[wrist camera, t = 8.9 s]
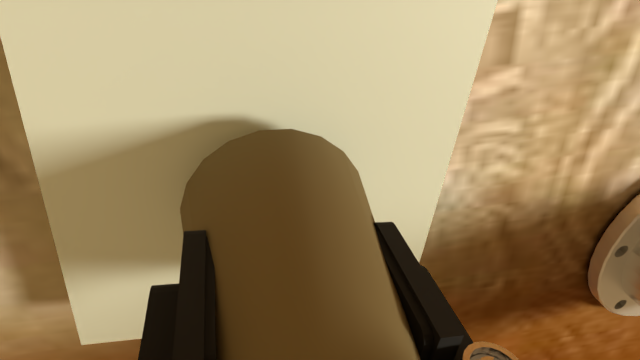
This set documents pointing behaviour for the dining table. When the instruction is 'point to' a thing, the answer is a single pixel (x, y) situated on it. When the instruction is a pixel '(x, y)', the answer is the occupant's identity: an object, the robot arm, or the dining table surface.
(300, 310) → the cork
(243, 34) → the cream block
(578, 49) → the dining table surface
